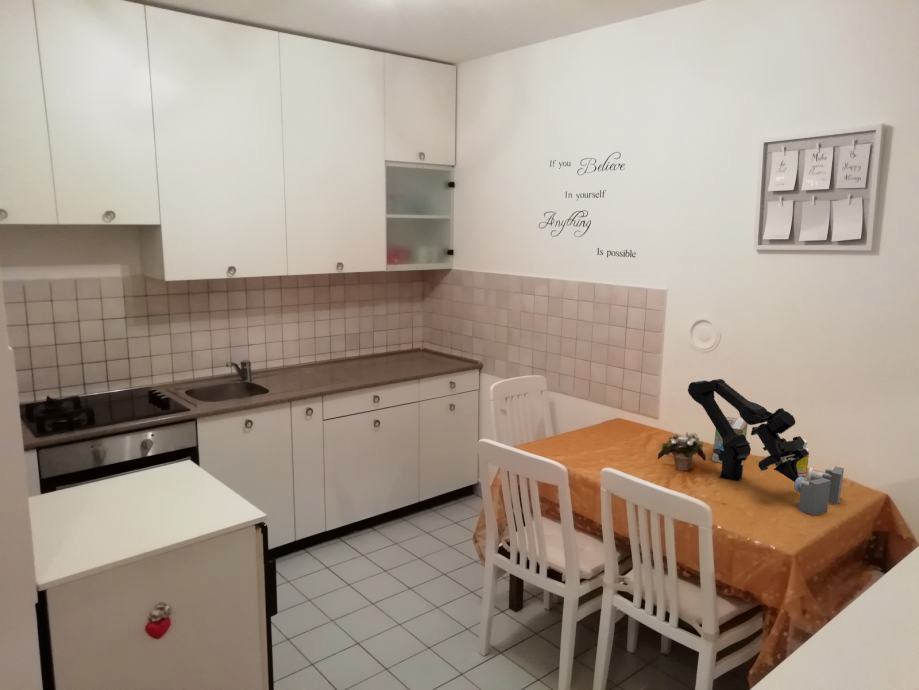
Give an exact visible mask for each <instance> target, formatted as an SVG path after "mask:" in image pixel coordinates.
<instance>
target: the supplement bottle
mask: <svg viewBox="0 0 919 690" xmlns="http://www.w3.org/2000/svg"><path fill="white" fill-rule="evenodd" d="M802 439H803V441H804V442H805V443H804V445H803V448H804V449H806V450H807V452H808V453H809V455H810V449H809V448H808V447H807V445H808V441H807V440H806V439H804V438H802ZM809 455H808V456H806V457H804V458H803V459H801V460H800V461H798V462H797V465H796V466H797V471H798V475H799V477H800V476H801V477H802V476H803V477H806V476H807V475H808V467H809V465H808V464H809Z"/></svg>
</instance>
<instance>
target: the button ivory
mask: <svg viewBox="0 0 919 690" xmlns="http://www.w3.org/2000/svg"><path fill="white" fill-rule="evenodd" d="M823 474H827V473H825V472H823V471H818V470H814V467H811V466H810V467H808V469H807V475H806V476H807V477H806V480H807V482H809V481H812V480H817V479H820V478H822V476H823ZM827 475H830V474H827Z"/></svg>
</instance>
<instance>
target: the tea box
mask: <svg viewBox="0 0 919 690" xmlns="http://www.w3.org/2000/svg"><path fill="white" fill-rule="evenodd" d="M725 417H726V419H727V420H728V422H729V424H730V425H731V427H732V428H733V430H734V431H735V433H736V434H738V435H742V434H743V435H744V436H745V437H746V438H747V433H748V432H747V431H748V425H749V424H747V423H746V422H745V421H744V420H743V419H742V418H739V417H738V418H737V417H736V418H735V417H731V416H725ZM713 441H714V443H713V451H712V457H711V458H712V462H715V463H716V462H717V463H719V464H722V461H720V460H719V457H718V454H719V453H721V452H722V451H724V449H723V441H722V437H721V436H720V434H719V432H718V431H717V429H716V428H715V432H714V439H713Z"/></svg>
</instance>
